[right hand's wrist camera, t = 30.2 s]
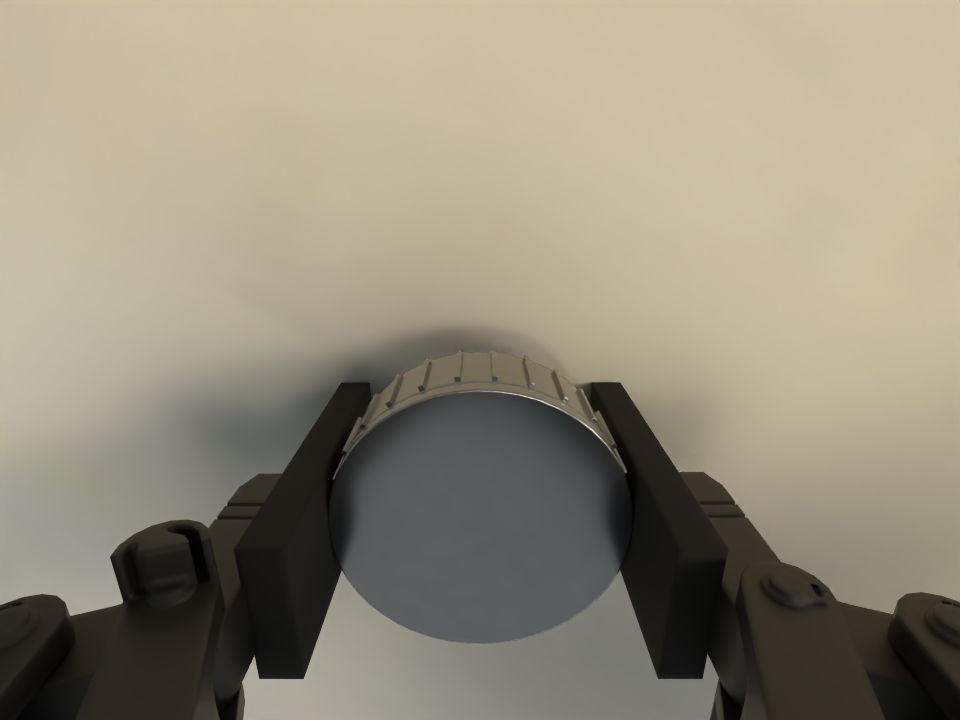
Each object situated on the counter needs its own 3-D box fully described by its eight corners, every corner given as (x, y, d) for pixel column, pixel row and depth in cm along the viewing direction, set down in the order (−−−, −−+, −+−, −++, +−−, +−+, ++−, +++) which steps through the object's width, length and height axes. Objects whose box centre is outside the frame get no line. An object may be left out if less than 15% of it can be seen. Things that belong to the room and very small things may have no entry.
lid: (307, 517, 13) (276, 580, 11) (419, 296, 11) (407, 325, 9) (527, 610, 14) (536, 683, 12) (665, 424, 12) (702, 474, 10)
